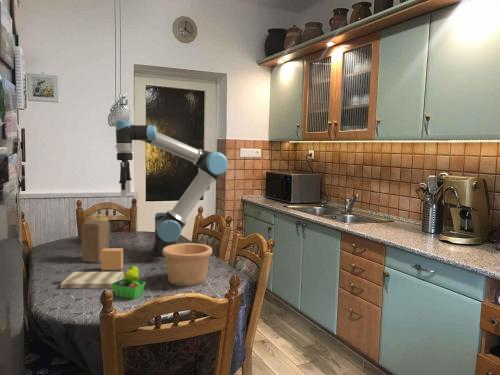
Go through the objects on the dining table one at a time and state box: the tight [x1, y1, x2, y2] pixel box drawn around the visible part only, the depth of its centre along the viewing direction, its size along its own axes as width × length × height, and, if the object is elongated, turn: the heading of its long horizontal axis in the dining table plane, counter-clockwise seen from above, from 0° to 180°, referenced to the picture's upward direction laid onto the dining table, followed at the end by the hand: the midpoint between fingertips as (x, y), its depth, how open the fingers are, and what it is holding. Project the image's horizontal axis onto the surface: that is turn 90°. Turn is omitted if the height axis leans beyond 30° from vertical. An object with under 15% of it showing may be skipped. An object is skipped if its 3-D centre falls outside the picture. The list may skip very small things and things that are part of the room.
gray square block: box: [53, 277, 67, 285], centre depth 171 cm, size 4×4×2 cm
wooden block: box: [81, 220, 110, 264], centre depth 204 cm, size 10×10×20 cm
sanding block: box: [100, 247, 124, 272], centre depth 189 cm, size 9×5×10 cm, turn 97°
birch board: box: [60, 271, 125, 289], centre depth 173 cm, size 22×16×2 cm
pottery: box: [162, 242, 213, 287], centre depth 178 cm, size 22×22×14 cm
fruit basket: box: [112, 264, 147, 300], centre depth 158 cm, size 11×9×11 cm
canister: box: [88, 213, 112, 244], centre depth 242 cm, size 13×13×18 cm
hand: (126, 194), depth 200 cm, fingers open, 13 cm apart
